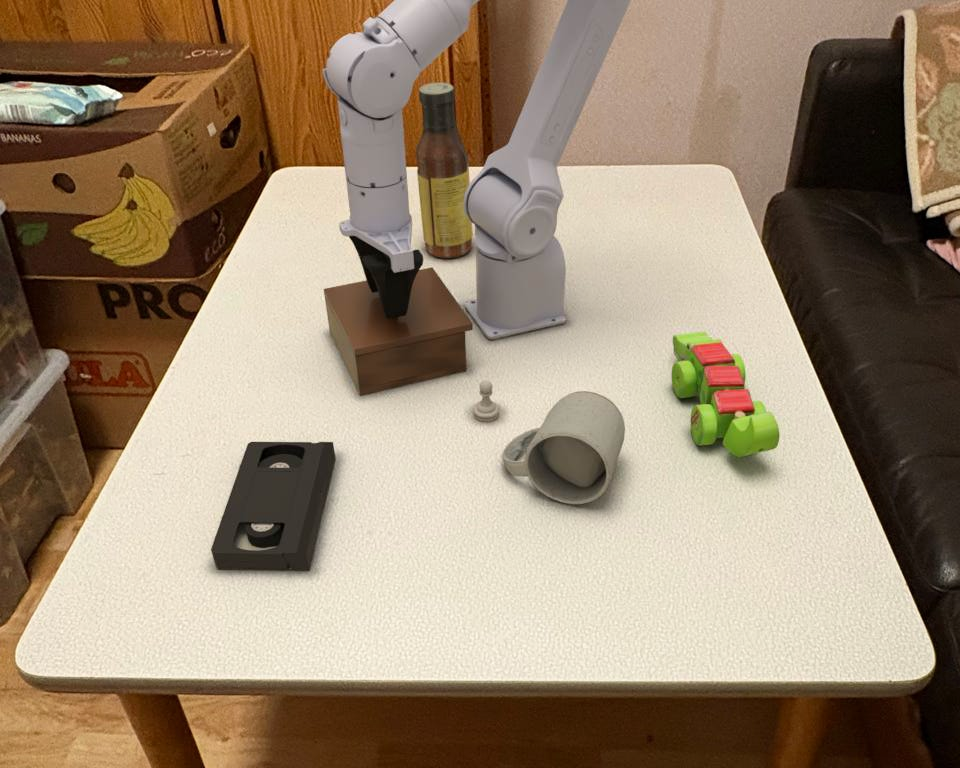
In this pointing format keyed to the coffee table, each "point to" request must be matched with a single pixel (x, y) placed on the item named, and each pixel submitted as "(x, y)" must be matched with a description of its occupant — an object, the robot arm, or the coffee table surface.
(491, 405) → the pawn
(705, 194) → the coffee table surface
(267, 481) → the vhs tape
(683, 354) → the toy crocodile
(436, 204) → the sauce bottle
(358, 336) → the lid
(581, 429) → the ceramic mug
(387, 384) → the box
